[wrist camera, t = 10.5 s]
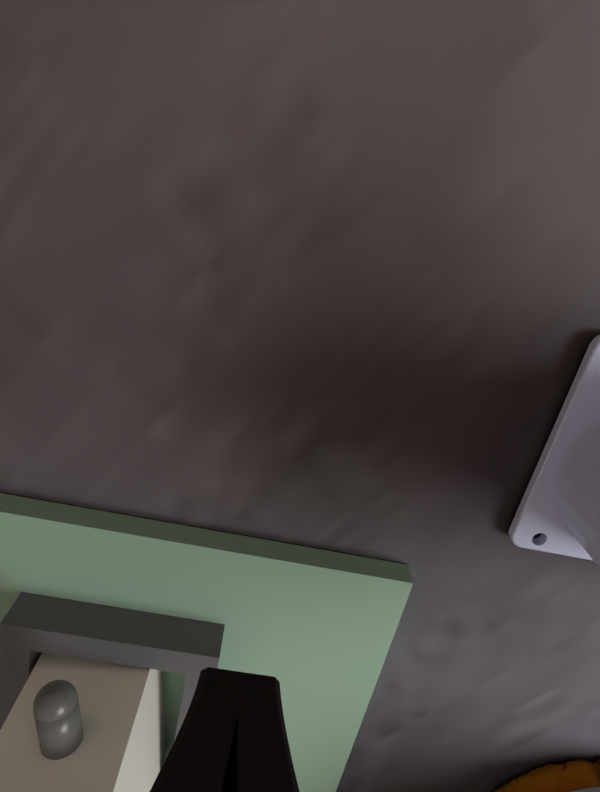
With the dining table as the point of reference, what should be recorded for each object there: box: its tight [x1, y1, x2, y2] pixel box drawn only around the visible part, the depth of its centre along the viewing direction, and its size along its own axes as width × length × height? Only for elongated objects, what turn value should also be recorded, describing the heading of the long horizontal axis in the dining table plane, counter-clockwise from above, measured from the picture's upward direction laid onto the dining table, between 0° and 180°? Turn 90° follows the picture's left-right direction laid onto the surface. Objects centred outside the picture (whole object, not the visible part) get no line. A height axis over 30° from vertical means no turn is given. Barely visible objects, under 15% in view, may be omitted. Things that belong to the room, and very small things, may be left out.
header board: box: [0, 493, 413, 792], centre depth 21 cm, size 20×16×2 cm
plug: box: [0, 652, 167, 792], centre depth 18 cm, size 4×9×6 cm, turn 177°
